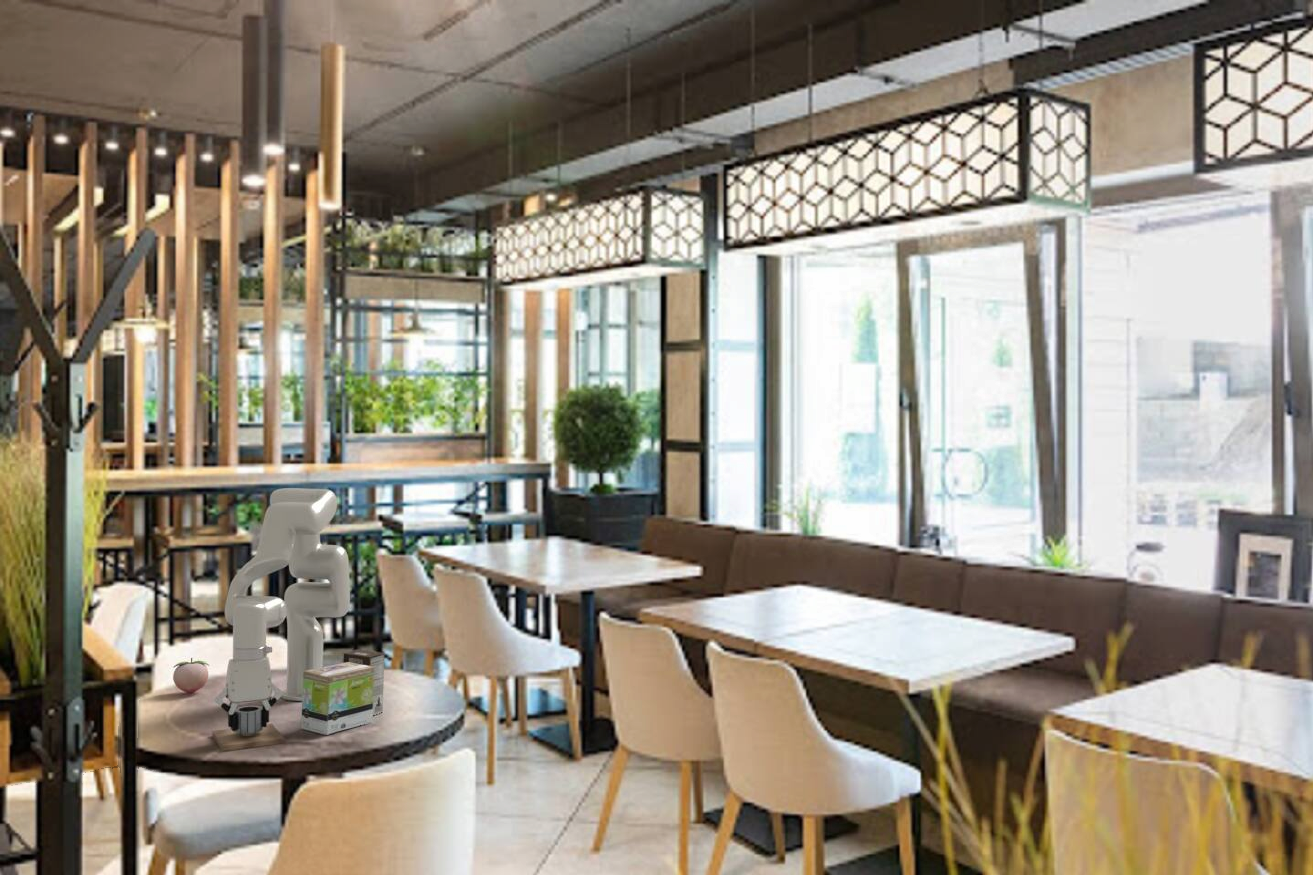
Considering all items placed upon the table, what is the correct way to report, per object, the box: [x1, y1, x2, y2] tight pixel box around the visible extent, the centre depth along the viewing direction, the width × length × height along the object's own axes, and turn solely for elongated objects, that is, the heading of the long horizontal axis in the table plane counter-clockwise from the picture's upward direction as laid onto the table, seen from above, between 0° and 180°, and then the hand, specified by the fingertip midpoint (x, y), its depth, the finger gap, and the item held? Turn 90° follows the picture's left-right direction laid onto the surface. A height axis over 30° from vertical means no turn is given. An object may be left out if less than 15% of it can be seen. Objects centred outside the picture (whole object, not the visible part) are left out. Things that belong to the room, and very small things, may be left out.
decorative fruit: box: [172, 657, 210, 695], centre depth 309 cm, size 9×8×10 cm
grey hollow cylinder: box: [235, 705, 263, 734], centre depth 268 cm, size 6×6×5 cm
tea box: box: [300, 662, 374, 736], centre depth 281 cm, size 15×10×15 cm
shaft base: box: [211, 723, 286, 752], centre depth 268 cm, size 14×14×4 cm
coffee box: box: [342, 648, 385, 716], centre depth 293 cm, size 9×6×16 cm
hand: (248, 727), depth 268 cm, fingers closed on grey hollow cylinder, 6 cm apart
